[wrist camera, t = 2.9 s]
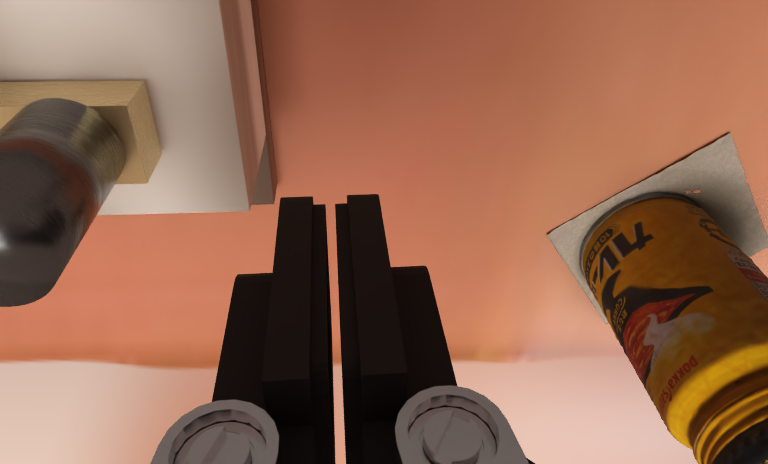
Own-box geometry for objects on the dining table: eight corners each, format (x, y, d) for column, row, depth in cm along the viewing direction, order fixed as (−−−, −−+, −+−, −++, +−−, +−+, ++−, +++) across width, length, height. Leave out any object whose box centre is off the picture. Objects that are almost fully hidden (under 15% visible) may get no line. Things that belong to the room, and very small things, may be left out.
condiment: (545, 232, 26) (672, 476, 16) (728, 130, 24) (1005, 346, 14) (604, 321, 30) (736, 562, 20) (767, 241, 27) (1007, 471, 18)
